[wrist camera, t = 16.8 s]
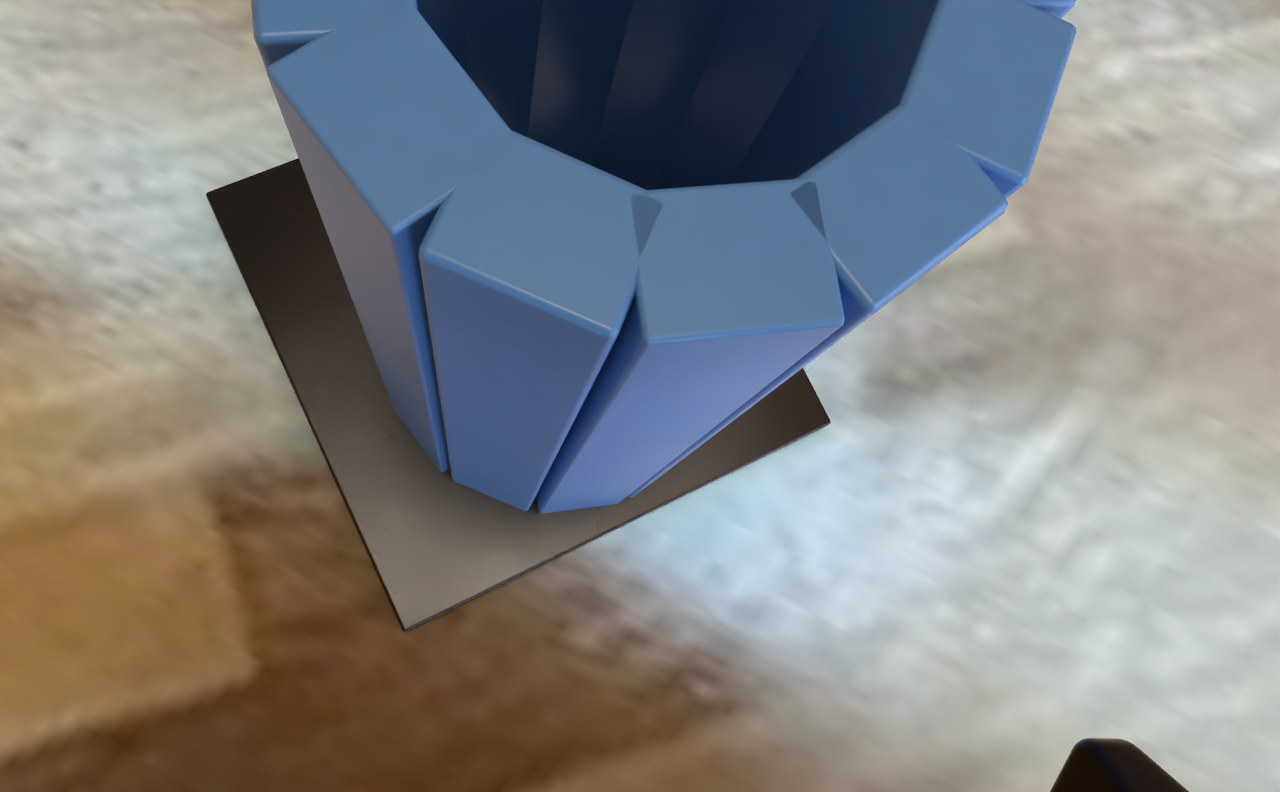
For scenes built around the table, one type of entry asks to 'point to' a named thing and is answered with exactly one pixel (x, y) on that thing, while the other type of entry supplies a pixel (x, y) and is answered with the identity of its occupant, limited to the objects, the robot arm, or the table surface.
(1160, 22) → the table surface
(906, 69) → the blue fluted tube
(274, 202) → the peg stand
